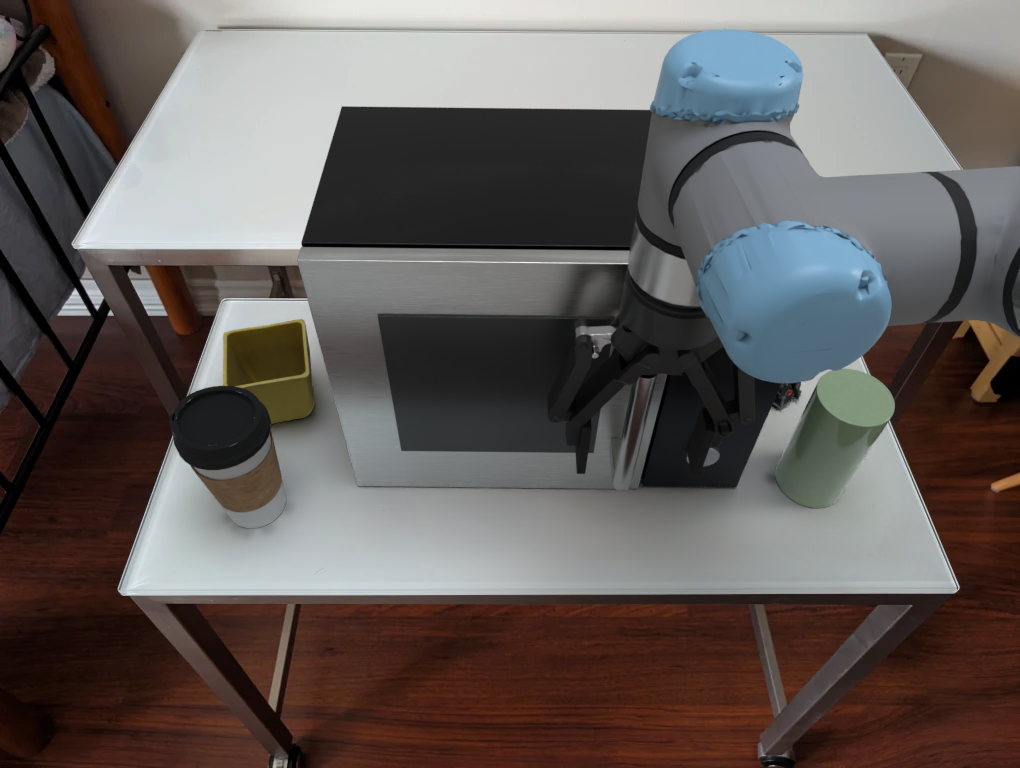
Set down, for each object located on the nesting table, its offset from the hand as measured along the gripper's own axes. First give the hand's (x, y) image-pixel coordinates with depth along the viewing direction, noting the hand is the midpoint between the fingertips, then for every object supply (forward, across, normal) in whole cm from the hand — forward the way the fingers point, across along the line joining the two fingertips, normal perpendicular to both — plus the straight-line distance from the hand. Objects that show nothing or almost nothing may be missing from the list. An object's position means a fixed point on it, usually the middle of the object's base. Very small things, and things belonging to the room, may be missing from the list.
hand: (636, 462), depth 68 cm
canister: (+11, -20, -6) cm, 24 cm away
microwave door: (+11, +13, -2) cm, 17 cm away
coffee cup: (+11, +38, -2) cm, 39 cm away
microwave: (+11, +8, -15) cm, 20 cm away
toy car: (+11, -20, -21) cm, 31 cm away
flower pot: (+11, +38, -15) cm, 42 cm away
